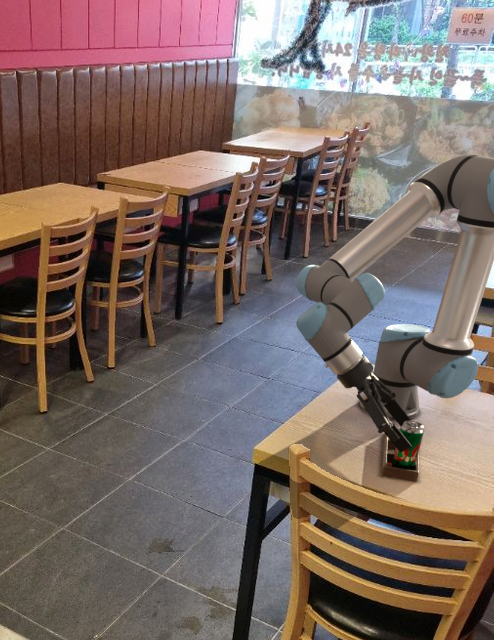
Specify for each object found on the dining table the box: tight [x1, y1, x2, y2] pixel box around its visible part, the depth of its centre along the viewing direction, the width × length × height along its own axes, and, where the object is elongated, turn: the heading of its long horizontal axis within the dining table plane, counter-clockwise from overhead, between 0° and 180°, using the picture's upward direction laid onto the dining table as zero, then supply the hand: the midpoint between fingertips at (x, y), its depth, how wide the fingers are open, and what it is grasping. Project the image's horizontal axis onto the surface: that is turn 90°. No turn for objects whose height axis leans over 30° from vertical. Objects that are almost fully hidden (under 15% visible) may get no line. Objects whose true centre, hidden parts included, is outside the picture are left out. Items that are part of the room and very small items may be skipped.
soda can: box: [391, 420, 425, 470], centre depth 170 cm, size 5×5×12 cm
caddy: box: [381, 428, 420, 483], centre depth 178 cm, size 22×8×2 cm, turn 162°
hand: (405, 435), depth 169 cm, fingers open, 13 cm apart
